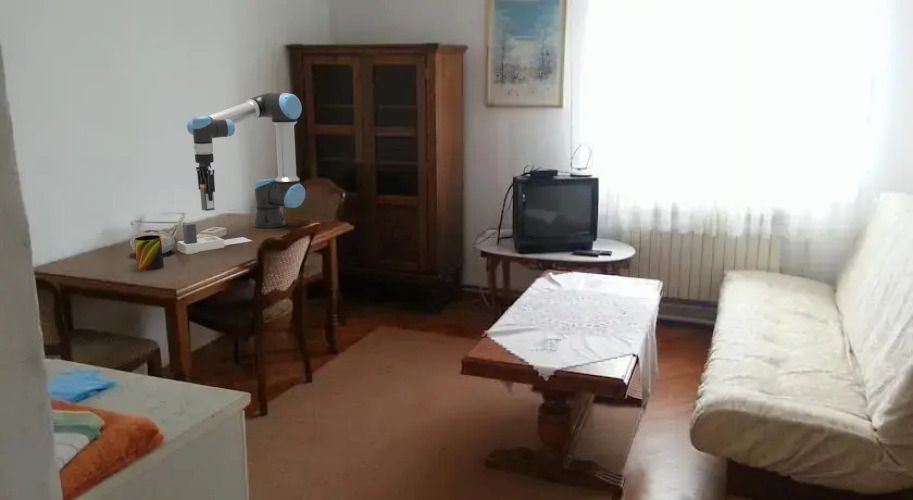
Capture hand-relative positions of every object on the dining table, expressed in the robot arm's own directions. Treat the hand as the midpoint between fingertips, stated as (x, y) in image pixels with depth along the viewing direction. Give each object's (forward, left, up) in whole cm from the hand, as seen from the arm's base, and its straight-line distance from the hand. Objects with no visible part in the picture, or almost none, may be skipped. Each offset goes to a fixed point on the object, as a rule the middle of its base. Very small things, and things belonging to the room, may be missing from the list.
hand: (208, 207), depth 336 cm
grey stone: (+23, -6, -18) cm, 30 cm away
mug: (+33, +13, -18) cm, 40 cm away
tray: (-12, -4, -18) cm, 22 cm away
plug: (0, 0, -1) cm, 1 cm away
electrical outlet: (-7, -17, -19) cm, 26 cm away
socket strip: (+4, 0, -18) cm, 19 cm away
